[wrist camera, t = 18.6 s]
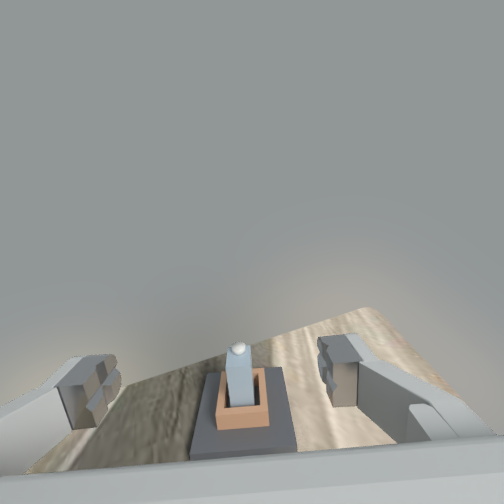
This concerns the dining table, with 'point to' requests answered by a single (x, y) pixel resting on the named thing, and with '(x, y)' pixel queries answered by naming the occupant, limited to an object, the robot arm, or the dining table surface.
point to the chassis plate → (244, 419)
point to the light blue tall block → (240, 375)
